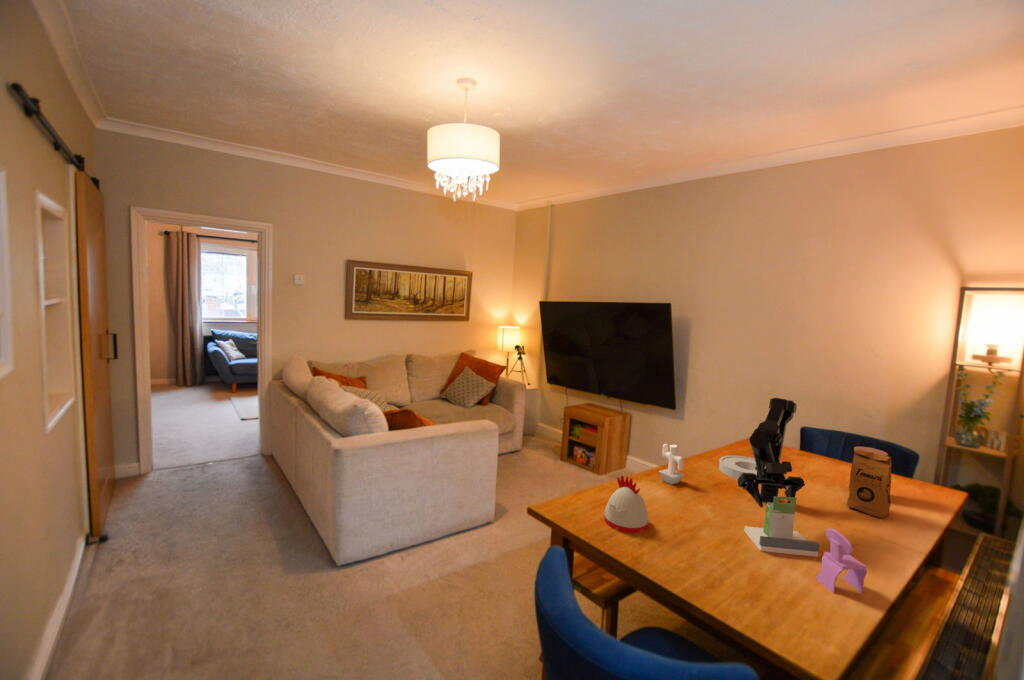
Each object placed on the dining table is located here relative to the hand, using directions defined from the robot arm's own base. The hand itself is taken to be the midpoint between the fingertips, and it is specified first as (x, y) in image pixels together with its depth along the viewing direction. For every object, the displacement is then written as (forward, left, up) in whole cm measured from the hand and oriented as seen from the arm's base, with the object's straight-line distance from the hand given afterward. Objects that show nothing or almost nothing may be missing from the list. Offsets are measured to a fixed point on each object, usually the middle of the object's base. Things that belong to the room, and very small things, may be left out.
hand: (777, 508), depth 144 cm
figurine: (-22, -39, -10) cm, 46 cm away
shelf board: (+3, +2, -9) cm, 10 cm away
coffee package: (-45, +25, -10) cm, 53 cm away
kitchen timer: (+23, -40, -10) cm, 47 cm away
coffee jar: (-64, +25, -10) cm, 70 cm away
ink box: (+2, +1, -8) cm, 8 cm away
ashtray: (-56, -16, -10) cm, 59 cm away
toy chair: (+18, +17, -10) cm, 26 cm away
